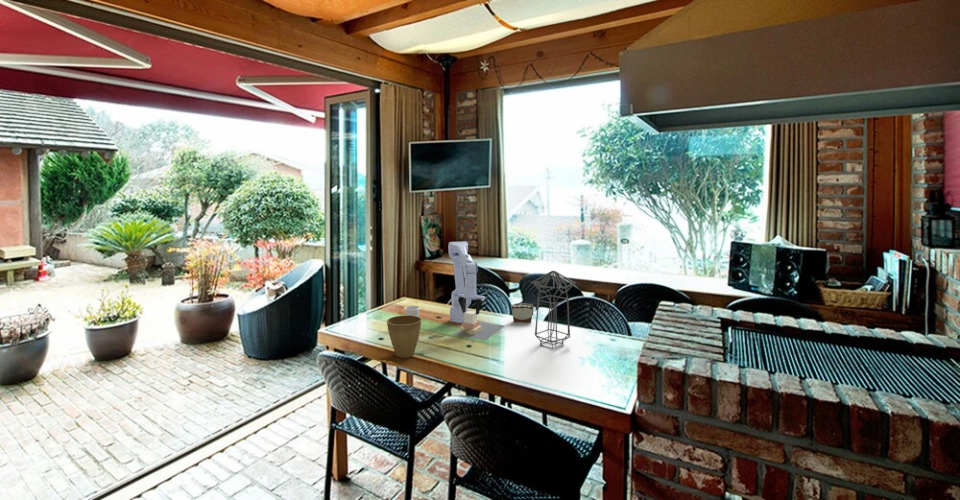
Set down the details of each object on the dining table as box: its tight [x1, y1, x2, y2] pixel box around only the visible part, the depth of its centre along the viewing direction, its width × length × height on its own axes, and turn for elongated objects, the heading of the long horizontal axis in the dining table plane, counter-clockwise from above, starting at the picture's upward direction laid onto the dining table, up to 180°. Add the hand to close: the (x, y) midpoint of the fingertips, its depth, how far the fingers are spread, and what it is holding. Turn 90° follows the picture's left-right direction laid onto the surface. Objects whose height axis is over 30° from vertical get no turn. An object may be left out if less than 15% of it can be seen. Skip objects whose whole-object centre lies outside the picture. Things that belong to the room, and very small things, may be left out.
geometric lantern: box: [530, 270, 576, 350], centre depth 202 cm, size 16×16×35 cm
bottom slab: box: [459, 325, 482, 335], centre depth 222 cm, size 8×8×2 cm
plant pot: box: [386, 315, 422, 359], centre depth 193 cm, size 15×15×16 cm
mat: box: [452, 321, 505, 341], centre depth 225 cm, size 18×24×1 cm
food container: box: [510, 302, 535, 324], centre depth 239 cm, size 12×6×10 cm, turn 84°
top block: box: [464, 310, 478, 324], centre depth 221 cm, size 5×5×5 cm
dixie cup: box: [403, 305, 421, 317], centre depth 235 cm, size 8×8×10 cm
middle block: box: [462, 320, 480, 329], centre depth 222 cm, size 6×6×2 cm
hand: (470, 313), depth 221 cm, fingers open, 7 cm apart
